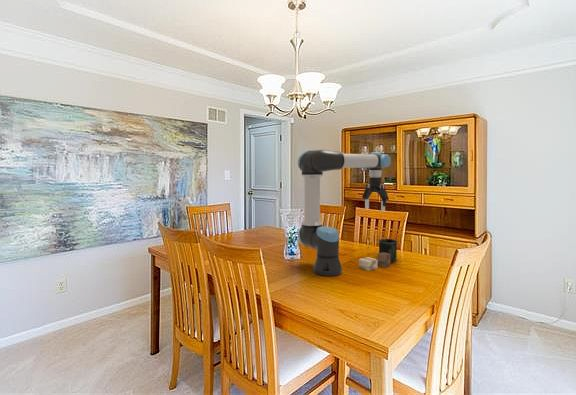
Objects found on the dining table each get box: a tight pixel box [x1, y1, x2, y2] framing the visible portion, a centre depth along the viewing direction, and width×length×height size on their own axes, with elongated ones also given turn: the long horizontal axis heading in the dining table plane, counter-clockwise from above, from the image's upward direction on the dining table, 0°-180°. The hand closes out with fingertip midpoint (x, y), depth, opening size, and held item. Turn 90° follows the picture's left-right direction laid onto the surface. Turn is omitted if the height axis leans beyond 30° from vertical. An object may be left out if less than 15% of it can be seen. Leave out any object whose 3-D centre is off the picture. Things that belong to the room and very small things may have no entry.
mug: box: [378, 238, 398, 263], centre depth 193 cm, size 11×15×12 cm
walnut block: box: [376, 252, 391, 269], centre depth 181 cm, size 5×5×7 cm
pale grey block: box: [358, 256, 379, 272], centre depth 178 cm, size 7×7×5 cm
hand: (374, 210), depth 206 cm, fingers open, 13 cm apart
